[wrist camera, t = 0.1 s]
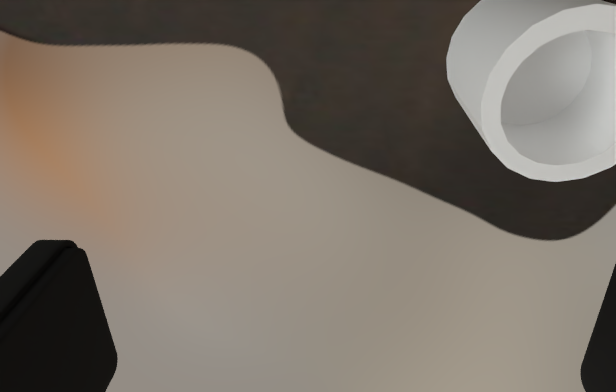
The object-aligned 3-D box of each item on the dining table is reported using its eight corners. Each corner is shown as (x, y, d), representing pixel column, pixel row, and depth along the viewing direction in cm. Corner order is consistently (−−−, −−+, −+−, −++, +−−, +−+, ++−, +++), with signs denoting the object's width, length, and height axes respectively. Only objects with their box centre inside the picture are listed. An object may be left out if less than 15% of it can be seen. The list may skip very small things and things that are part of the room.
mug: (653, -22, 33) (773, -3, 24) (614, 119, 38) (702, 180, 29) (453, -15, 34) (493, 7, 25) (440, 122, 39) (470, 182, 30)
